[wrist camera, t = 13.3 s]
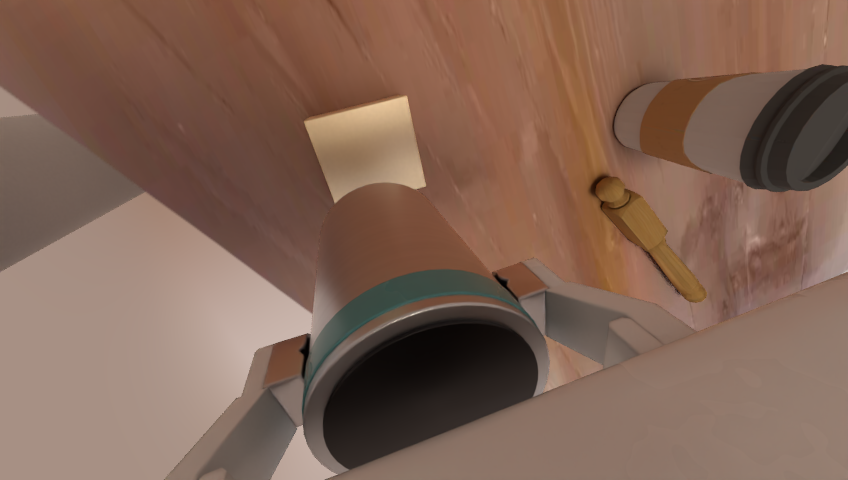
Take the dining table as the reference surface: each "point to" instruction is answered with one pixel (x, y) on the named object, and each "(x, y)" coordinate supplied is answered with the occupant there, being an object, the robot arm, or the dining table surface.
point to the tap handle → (647, 234)
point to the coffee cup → (746, 125)
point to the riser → (367, 146)
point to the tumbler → (407, 332)
